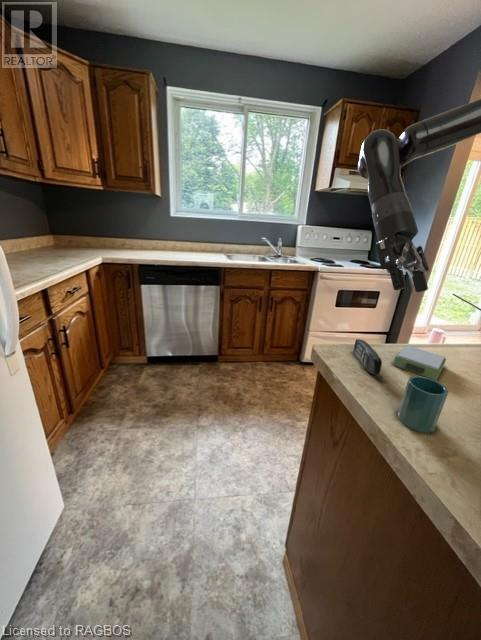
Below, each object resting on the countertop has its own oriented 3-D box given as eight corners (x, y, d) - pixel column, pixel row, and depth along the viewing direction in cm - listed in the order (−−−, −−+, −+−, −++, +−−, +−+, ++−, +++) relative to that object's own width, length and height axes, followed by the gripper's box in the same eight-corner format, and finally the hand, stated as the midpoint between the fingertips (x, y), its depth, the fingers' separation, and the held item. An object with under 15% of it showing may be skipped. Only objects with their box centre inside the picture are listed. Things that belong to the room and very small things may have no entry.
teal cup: (402, 406, 57) (413, 372, 54) (437, 421, 53) (450, 385, 50) (393, 420, 53) (404, 384, 50) (431, 438, 49) (445, 400, 46)
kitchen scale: (403, 353, 80) (406, 344, 79) (443, 366, 74) (447, 356, 73) (392, 366, 73) (395, 355, 72) (435, 381, 67) (439, 370, 66)
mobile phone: (353, 337, 78) (377, 362, 64) (364, 338, 78) (389, 362, 64) (350, 353, 80) (372, 380, 66) (361, 353, 80) (385, 381, 65)
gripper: (391, 202, 52) (412, 281, 49) (427, 216, 60) (448, 286, 57) (357, 223, 59) (374, 294, 55) (394, 233, 66) (411, 297, 63)
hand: (411, 290), depth 56 cm, fingers open, 8 cm apart
